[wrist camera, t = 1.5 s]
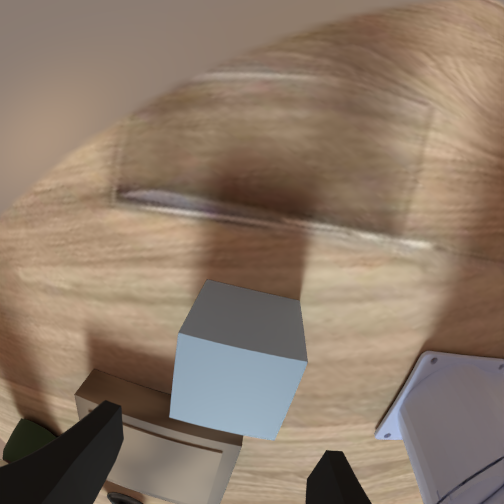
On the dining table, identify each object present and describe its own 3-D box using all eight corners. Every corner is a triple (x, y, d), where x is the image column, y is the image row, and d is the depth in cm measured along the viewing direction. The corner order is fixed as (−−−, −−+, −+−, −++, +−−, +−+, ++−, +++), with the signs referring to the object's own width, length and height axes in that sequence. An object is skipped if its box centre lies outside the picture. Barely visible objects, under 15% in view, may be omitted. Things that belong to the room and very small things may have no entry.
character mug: (0, 393, 23) (-65, 468, 10) (39, 399, 22) (-34, 494, 9) (52, 463, 26) (8, 537, 13) (95, 473, 25) (52, 562, 12)
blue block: (299, 300, 17) (307, 361, 12) (276, 371, 18) (274, 440, 13) (207, 278, 17) (178, 332, 12) (194, 353, 18) (169, 417, 13)
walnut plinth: (246, 413, 19) (241, 448, 16) (221, 486, 23) (216, 514, 20) (93, 368, 20) (73, 395, 17) (105, 452, 23) (93, 476, 20)
